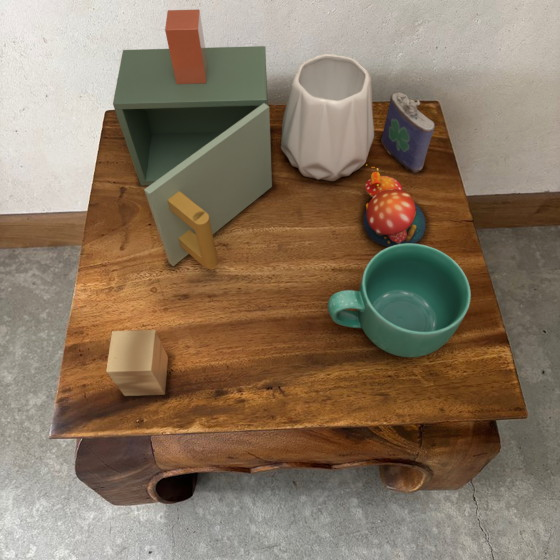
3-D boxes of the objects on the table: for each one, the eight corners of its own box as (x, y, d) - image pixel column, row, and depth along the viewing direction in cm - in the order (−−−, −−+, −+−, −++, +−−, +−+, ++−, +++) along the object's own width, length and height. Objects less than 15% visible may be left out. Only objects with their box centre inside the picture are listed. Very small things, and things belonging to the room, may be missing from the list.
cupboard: (269, 182, 85) (266, 99, 71) (140, 185, 85) (112, 103, 71) (268, 131, 91) (265, 45, 77) (147, 134, 90) (122, 49, 77)
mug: (441, 280, 75) (459, 240, 67) (459, 365, 69) (482, 332, 61) (320, 284, 75) (324, 245, 67) (328, 370, 69) (333, 338, 61)
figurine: (429, 256, 77) (444, 220, 70) (362, 255, 78) (370, 218, 70) (421, 191, 84) (434, 151, 76) (359, 189, 84) (366, 150, 77)
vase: (376, 132, 90) (391, 52, 77) (361, 197, 83) (375, 120, 70) (293, 118, 92) (294, 37, 79) (271, 180, 85) (269, 103, 72)
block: (176, 84, 73) (164, 29, 66) (178, 64, 75) (167, 9, 68) (206, 83, 73) (198, 29, 66) (207, 64, 75) (199, 9, 68)
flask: (425, 169, 86) (441, 116, 77) (410, 176, 85) (425, 124, 76) (390, 133, 90) (401, 78, 81) (375, 139, 89) (385, 85, 80)
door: (301, 207, 82) (303, 128, 69) (201, 292, 75) (183, 222, 61) (267, 183, 85) (263, 102, 71) (168, 262, 77) (143, 189, 64)
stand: (124, 396, 67) (105, 371, 60) (129, 358, 70) (111, 330, 63) (165, 394, 67) (151, 370, 61) (168, 357, 70) (155, 329, 63)
